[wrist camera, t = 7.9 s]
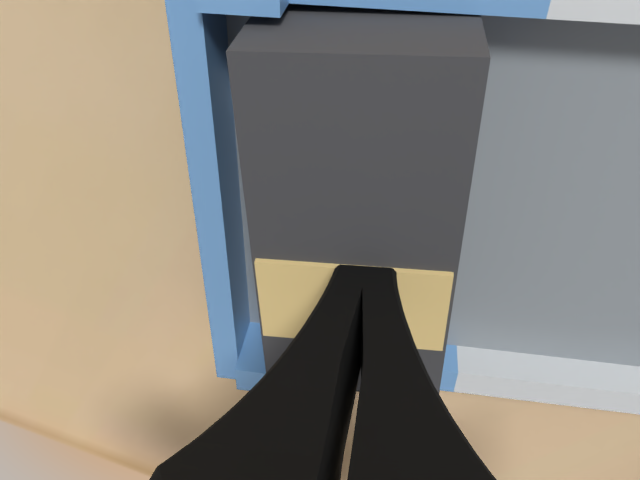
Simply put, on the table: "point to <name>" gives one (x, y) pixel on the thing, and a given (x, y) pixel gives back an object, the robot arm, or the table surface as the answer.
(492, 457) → the table surface
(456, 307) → the tray
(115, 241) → the table surface
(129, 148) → the table surface
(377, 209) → the block
